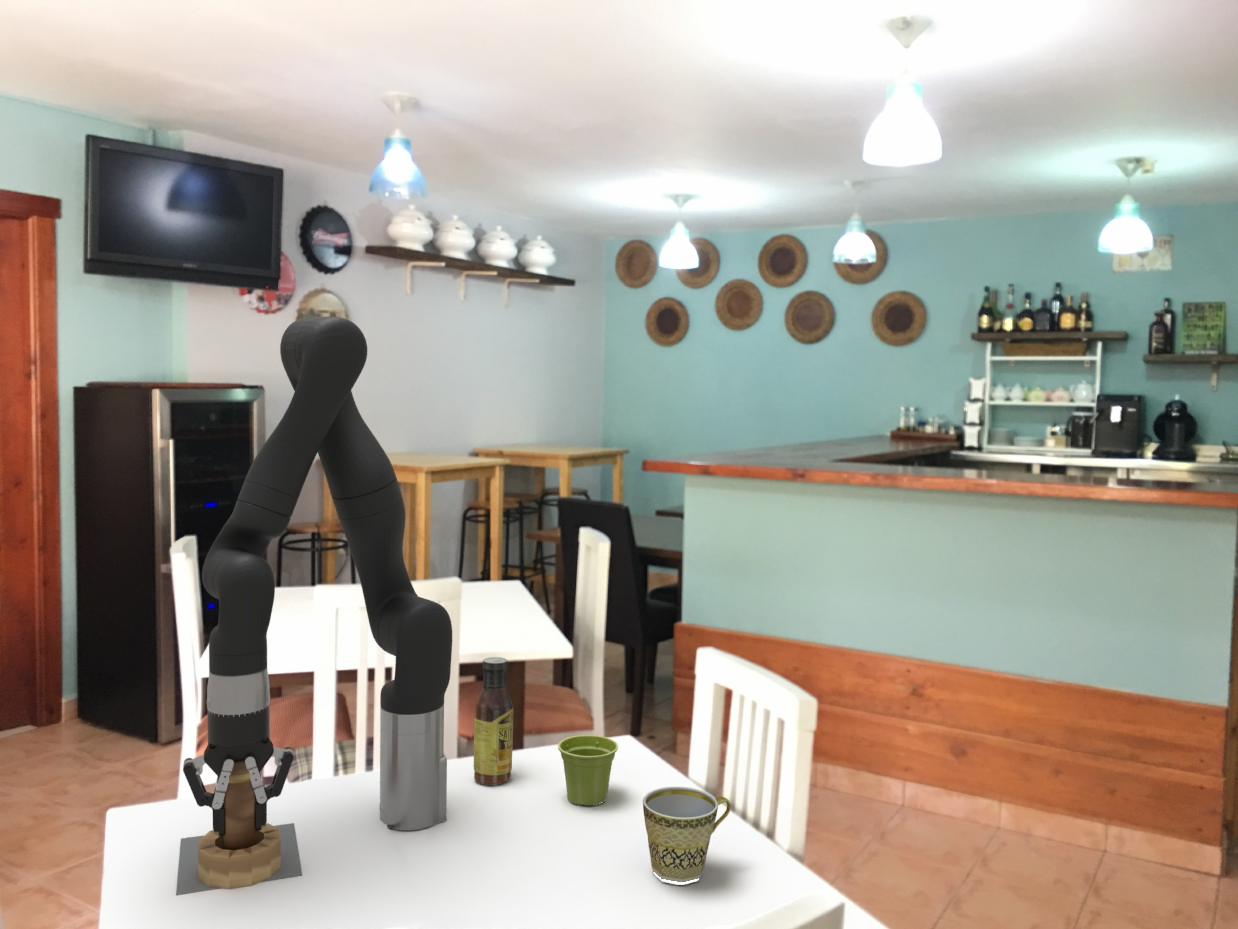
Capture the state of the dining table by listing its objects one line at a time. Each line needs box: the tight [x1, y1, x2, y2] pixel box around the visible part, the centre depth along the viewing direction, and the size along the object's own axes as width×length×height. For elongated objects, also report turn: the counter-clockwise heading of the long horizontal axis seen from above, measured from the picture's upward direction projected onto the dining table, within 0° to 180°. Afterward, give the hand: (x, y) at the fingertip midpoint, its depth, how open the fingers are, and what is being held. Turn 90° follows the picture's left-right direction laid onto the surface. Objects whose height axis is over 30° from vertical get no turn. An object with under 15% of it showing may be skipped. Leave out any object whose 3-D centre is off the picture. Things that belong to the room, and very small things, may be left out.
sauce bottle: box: [473, 656, 514, 786], centre depth 161 cm, size 7×6×20 cm
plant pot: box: [557, 734, 619, 806], centre depth 155 cm, size 9×9×9 cm
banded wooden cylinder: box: [223, 761, 256, 850], centre depth 129 cm, size 4×4×14 cm
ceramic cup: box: [642, 786, 731, 882], centre depth 133 cm, size 13×10×10 cm
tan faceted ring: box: [198, 822, 281, 890], centre depth 130 cm, size 10×10×4 cm
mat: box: [175, 822, 303, 896], centre depth 133 cm, size 15×16×1 cm
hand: (239, 830), depth 129 cm, fingers closed on banded wooden cylinder, 4 cm apart
